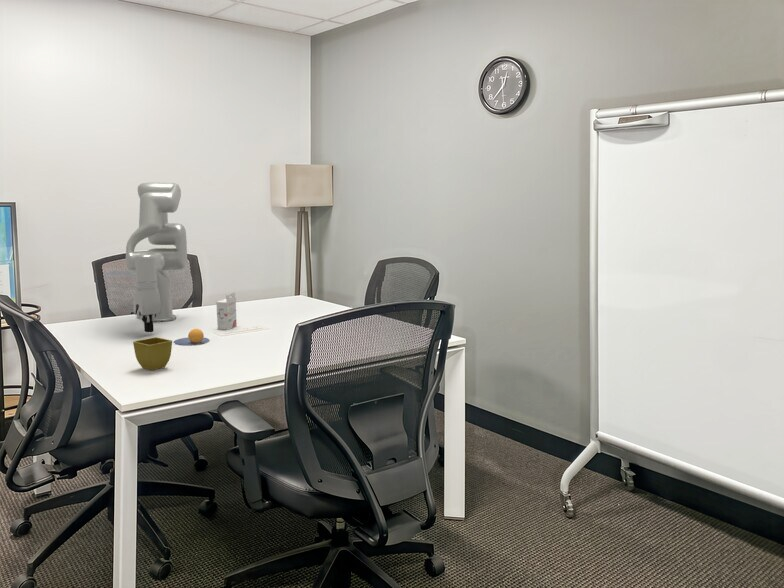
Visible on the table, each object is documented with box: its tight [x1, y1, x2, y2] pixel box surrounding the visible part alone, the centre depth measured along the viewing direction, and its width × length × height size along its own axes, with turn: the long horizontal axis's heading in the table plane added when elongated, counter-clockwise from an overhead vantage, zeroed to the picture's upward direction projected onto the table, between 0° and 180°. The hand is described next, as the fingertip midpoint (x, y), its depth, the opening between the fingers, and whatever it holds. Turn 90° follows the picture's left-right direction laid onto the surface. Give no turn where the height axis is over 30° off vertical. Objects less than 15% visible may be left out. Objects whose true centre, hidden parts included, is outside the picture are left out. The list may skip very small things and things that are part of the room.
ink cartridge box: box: [215, 292, 238, 331], centre depth 265 cm, size 9×5×15 cm, turn 168°
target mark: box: [173, 337, 210, 346], centre depth 241 cm, size 13×13×1 cm
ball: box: [187, 328, 205, 343], centre depth 238 cm, size 6×6×6 cm
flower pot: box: [132, 336, 173, 371], centre depth 203 cm, size 9×9×9 cm
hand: (149, 331), depth 250 cm, fingers closed
